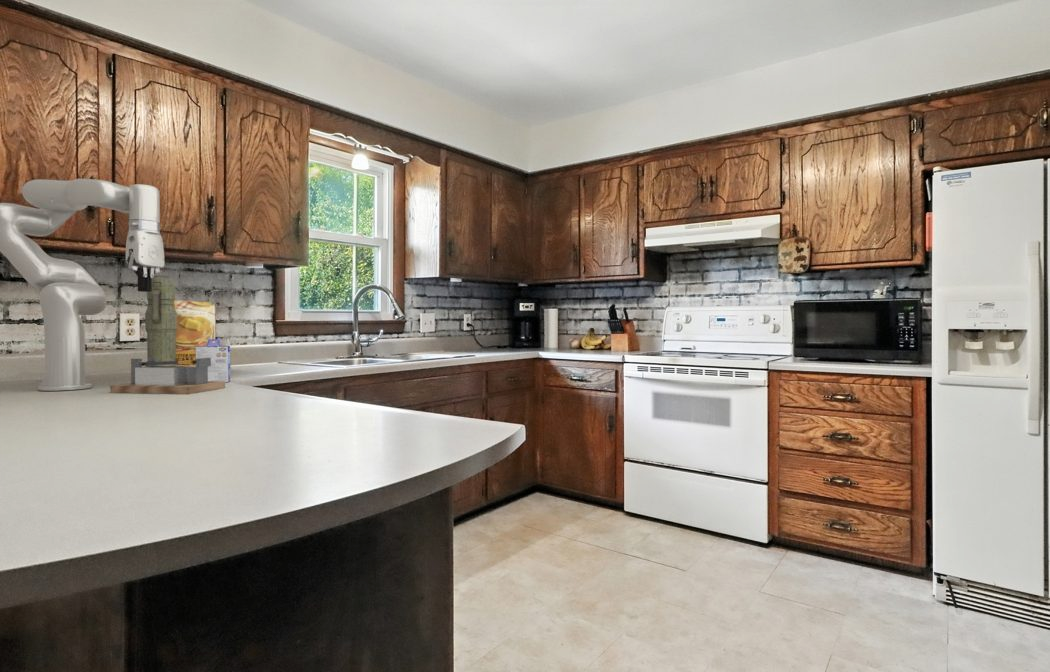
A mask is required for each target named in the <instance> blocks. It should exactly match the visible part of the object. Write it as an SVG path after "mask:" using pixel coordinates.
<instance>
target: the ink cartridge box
mask: <svg viewBox="0 0 1050 672" xmlns="http://www.w3.org/2000/svg"><path fill="white" fill-rule="evenodd" d="M210 341H215V343H209V342H210ZM220 342H221V339H220V338H215V339H208V342H207V346H197V347H196V359H198V358H211V366H208V381H225V383H229V382H231V377H232V376H231V345H220Z"/></svg>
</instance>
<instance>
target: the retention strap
mask: <svg viewBox="0 0 1050 672" xmlns="http://www.w3.org/2000/svg"><path fill="white" fill-rule="evenodd" d="M193 363H196V360H184V361H162V362H151V361H150V362H147V361H142V367H146V366H147V365H165V364H193Z"/></svg>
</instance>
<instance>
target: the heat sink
mask: <svg viewBox="0 0 1050 672" xmlns="http://www.w3.org/2000/svg"><path fill="white" fill-rule="evenodd" d="M188 367H196V365H159V366H148V367H146V366H142V367H137V368H135V385H150V386H177V385H184V384H189V374H188Z"/></svg>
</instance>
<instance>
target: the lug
mask: <svg viewBox="0 0 1050 672" xmlns="http://www.w3.org/2000/svg"><path fill="white" fill-rule="evenodd" d="M208 366H211V358H198V359H196V367H188V374H189V385H198V384H205V383H208Z"/></svg>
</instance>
